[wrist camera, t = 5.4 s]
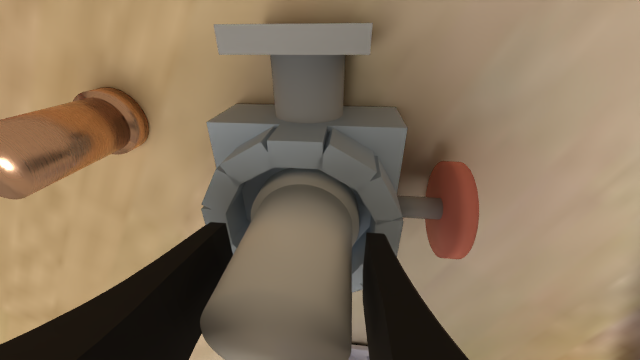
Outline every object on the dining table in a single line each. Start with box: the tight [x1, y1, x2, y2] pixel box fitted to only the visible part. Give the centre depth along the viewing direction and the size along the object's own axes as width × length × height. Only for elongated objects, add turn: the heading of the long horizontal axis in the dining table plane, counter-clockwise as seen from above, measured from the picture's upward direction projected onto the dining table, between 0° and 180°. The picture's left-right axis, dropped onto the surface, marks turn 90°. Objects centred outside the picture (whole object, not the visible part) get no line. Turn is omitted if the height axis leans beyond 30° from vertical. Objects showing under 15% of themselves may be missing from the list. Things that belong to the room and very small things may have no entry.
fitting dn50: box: [200, 168, 359, 360], centre depth 10 cm, size 5×5×6 cm
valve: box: [201, 23, 479, 292], centre depth 13 cm, size 15×11×5 cm
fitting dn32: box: [0, 87, 149, 199], centre depth 12 cm, size 3×3×6 cm
